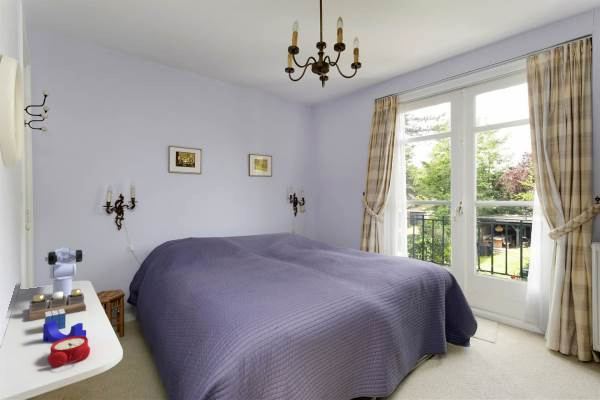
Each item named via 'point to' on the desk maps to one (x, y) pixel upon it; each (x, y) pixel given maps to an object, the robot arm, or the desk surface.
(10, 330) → the desk surface
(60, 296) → the knob middle
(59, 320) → the puzzle toy
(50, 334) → the blue curved block
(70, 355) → the alarm clock
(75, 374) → the desk surface
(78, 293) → the knob
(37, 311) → the knob panel
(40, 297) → the knob
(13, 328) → the desk surface
